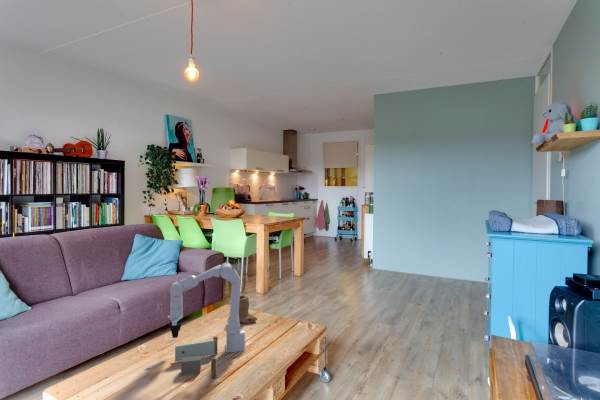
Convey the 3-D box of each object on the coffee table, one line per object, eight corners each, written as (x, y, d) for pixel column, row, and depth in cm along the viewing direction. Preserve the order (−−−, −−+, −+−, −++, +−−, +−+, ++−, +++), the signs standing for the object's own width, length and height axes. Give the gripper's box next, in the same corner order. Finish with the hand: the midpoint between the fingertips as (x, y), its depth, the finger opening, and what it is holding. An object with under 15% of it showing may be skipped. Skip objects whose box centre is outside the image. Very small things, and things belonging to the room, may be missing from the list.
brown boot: (229, 318, 207) (230, 295, 206) (246, 314, 214) (246, 291, 213) (240, 326, 194) (240, 301, 194) (257, 322, 201) (258, 298, 201)
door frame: (217, 351, 164) (217, 336, 163) (215, 378, 140) (215, 360, 140) (213, 352, 163) (213, 336, 163) (211, 379, 140) (211, 361, 140)
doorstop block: (200, 368, 148) (200, 355, 148) (200, 373, 145) (200, 360, 144) (182, 370, 147) (182, 357, 147) (181, 375, 143) (181, 361, 143)
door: (216, 352, 162) (216, 338, 162) (216, 354, 160) (216, 340, 159) (175, 359, 154) (175, 345, 154) (175, 362, 152) (175, 347, 152)
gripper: (170, 302, 166) (170, 328, 167) (165, 312, 152) (165, 341, 153) (184, 301, 168) (184, 327, 168) (180, 311, 154) (180, 340, 154)
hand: (176, 334), depth 161 cm, fingers open, 7 cm apart
